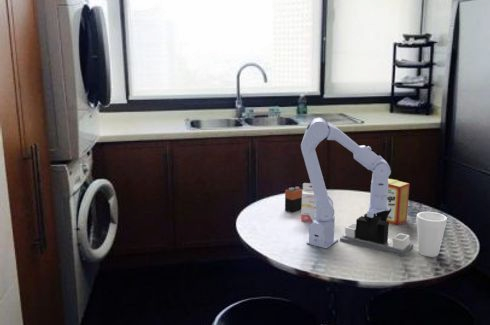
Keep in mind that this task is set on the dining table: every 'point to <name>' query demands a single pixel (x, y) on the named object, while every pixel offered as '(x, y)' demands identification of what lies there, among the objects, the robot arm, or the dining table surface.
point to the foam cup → (430, 232)
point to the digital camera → (364, 234)
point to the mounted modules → (398, 241)
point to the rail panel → (377, 245)
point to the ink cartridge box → (308, 203)
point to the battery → (293, 199)
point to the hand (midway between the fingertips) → (376, 231)
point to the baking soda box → (397, 201)
